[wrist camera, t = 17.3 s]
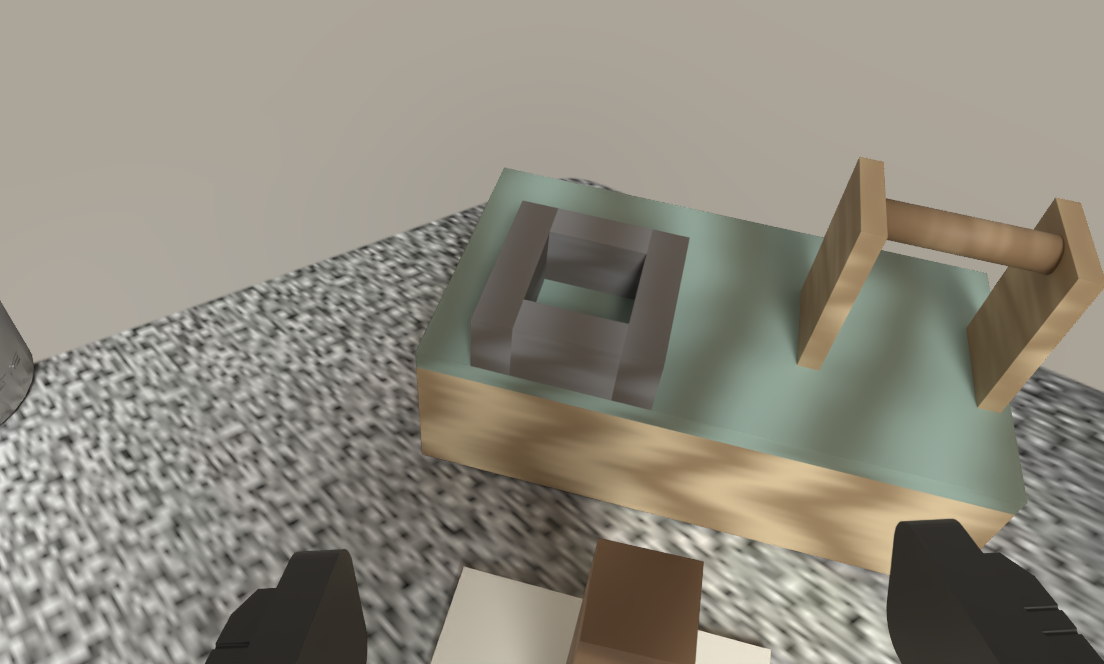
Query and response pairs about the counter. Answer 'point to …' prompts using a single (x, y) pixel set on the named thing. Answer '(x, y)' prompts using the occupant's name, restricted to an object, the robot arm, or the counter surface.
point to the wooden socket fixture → (751, 360)
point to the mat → (537, 627)
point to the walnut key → (638, 608)
